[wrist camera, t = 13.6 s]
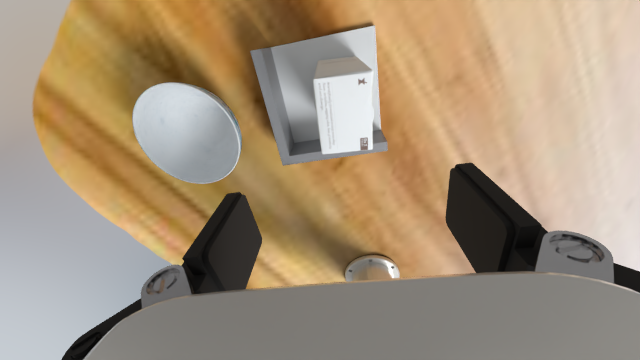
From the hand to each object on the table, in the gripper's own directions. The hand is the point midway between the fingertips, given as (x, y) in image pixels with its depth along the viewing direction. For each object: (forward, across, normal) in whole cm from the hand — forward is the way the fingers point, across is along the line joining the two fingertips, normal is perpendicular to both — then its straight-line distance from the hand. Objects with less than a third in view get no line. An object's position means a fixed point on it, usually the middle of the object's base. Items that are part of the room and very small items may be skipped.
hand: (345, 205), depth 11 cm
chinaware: (+31, +22, +2) cm, 38 cm away
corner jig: (+30, +2, +1) cm, 30 cm away
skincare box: (+30, 0, 0) cm, 30 cm away
